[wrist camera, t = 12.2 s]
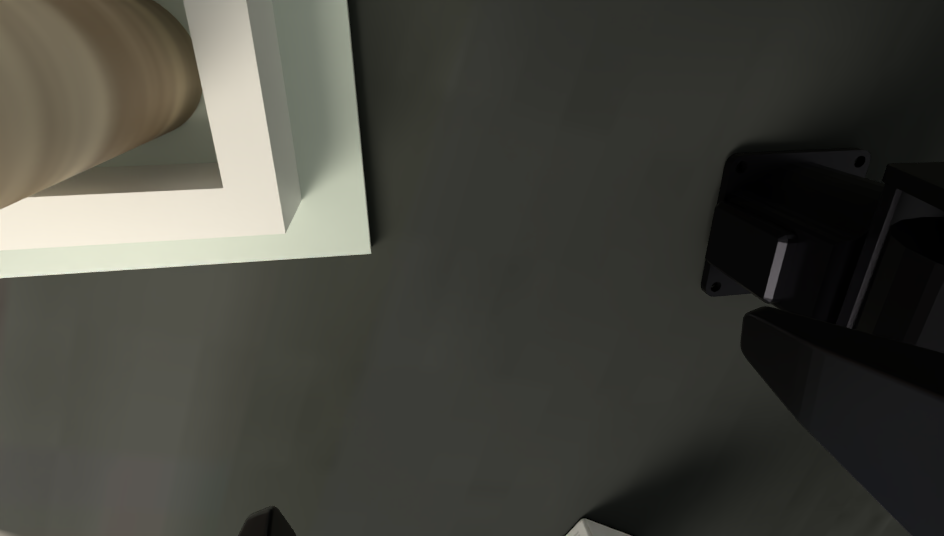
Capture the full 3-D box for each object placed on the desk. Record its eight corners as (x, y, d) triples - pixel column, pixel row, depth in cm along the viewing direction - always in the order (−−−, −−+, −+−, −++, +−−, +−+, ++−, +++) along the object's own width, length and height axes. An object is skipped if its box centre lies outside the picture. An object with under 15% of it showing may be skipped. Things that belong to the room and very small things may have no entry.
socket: (328, -201, 15) (310, -279, 11) (371, 247, 21) (368, 294, 17) (-246, -233, 13) (-499, -340, 9) (-19, 272, 19) (-118, 331, 15)
